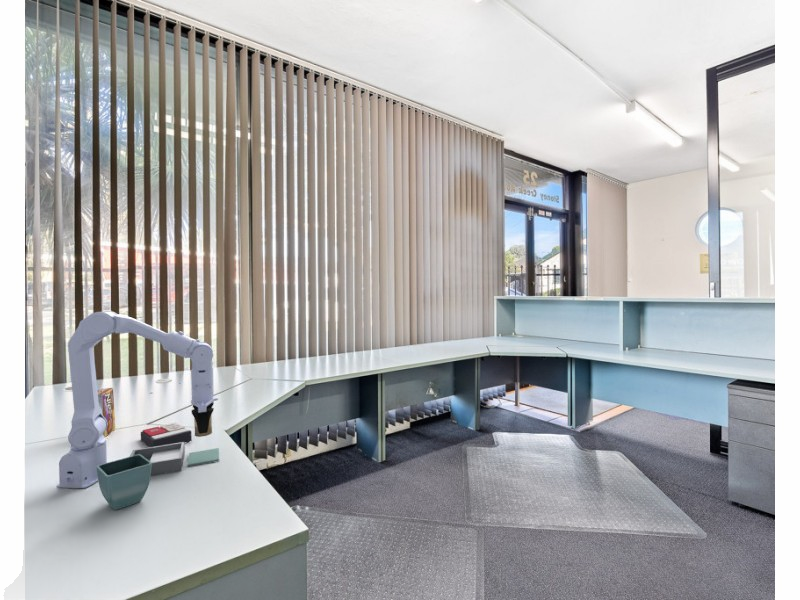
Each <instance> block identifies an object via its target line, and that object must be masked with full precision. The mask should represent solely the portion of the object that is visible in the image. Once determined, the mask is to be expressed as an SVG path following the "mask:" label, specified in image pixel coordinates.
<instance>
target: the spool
mask: <svg viewBox="0 0 800 600" xmlns="http://www.w3.org/2000/svg"><path fill="white" fill-rule="evenodd" d="M212 418H213V417H212V416H211V417H210V421H209V427H208V431H207V433H202V434H199V432H198V428H197V423H196V420H195V418H194V417H193V419H194V423H193V424H194V436H195V437H196V438H197V437H198V438H200V437H208V436H209V435H212V434H213V425H212V423H213V422H212V421H213V420H212Z"/></svg>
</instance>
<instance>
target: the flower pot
mask: <svg viewBox="0 0 800 600" xmlns="http://www.w3.org/2000/svg"><path fill="white" fill-rule="evenodd" d="M96 468H97V475H98V481H97V482H98V486H99V490H100V492H101V495H102V496H103V498H104V499H105V501H106V502H107V503H108V505H109V506H110V507H111V508H112V509H113V510H114V511H117V510H120V509H122V508H125V507H128V506H131V505H134V504H137V503H140V502H141V501H142V500H143V498H144V496H145V494H146V493H147V491H148V488H149V485H150V481H151V477H150V475H151V468H152V462H150V461H149V460H147V459H146V458H144V457H143V456H142V455H140V454H138V455H134V456H130V455H129V456H127V457H124V458H120V459H116V460H112V461H109V462H107V463H105V464H101V465H98V466H97V467H96Z"/></svg>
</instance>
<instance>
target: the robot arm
mask: <svg viewBox="0 0 800 600" xmlns="http://www.w3.org/2000/svg"><path fill="white" fill-rule="evenodd" d="M114 333H115V334H123V333H124V334H125V333H130V334H134V335H136V336H140V337H142V338H145V339H147V340H150V341H153V342H157V343H159V344H161V347H162V349H163V350H164V351H167V352H169V353H172V354H174V355H177V356H179V357H182V358H185V359H190V361H191V363H192V364H191V367H192V368H191V369H190V370H191V371H190V372H191V378H190V379H191V382H190V383H191V400H190V403H191V404H192V408H193V409H191V415H192V416H193V419H194V418H195V420H196V423H197V428H198V432H199V434H202V433H207V431H208V427H209V421H210V417H212V414H213V412H214V407H213V406H214V401H218V400H219V396H214V395H215V394H214V367H213V364H214V363H213V358H214V353H213V352H214V350H213V347H212V346H211V345H210V344H209V343H207V342H206V341H201V339H199V338H196V339H194V338H192V337H189V336H187V335H185V332H183V331H181V330H179V331H178V332H177V331H175V330H174V331H173V330H172V331H171V332H165V331H164V330H161V329H158V328H157V327H154V326H152V325H150V324H147V323H145V322H143V321H141V320H138V319H135V318H133V317H130V316H128V315H125V314H118V313H117V312H114V311H112V310H105V311H96V312H92V313H91V314H89V315H87V316H86V317H85V318H83V319H82V320H80V321H79V324H78V327H76V329H75V331H74V332H73V334H72V335H71V337H70V339H69V340H68V342H67V350H68V351H67V352H68V362H69V371H70V381H71V392H72V402H73V414H72V418H71V423H70V424H71V428H70V431H69V433H68V435H67V441H68V443H69V445H70V449H69V451H68V452H66V454H64V455H63V456H61V458H60V460H59V462H58V463H59V464H58V476H59V477H58V479H59V482H58V484H57V485H56V488H62V489H63V488H64V489H65V488H70V489H86V488H88V487H89V486H92V485H93V484H96V483H97V482H98V475H97V468H96V467H97V466H98V465H101V464H105V463H108V462H107V461H108V460H107V458H108V457H107V456H108V455H107V437H104V435H103V433H104V432H105V431H106V429H107V426H108V423H107V420H106V419H105V418H104V416H103V414H102V409H101V407H100V406H99V402H98V383H97V372H96V363H95V353H94V352H95V350H94V347H95V346H96V345H98V344H99V343H100V342H101V341H102V340H103V339H104V338H105V337H108V336H110V335H111V334H114Z"/></svg>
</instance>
